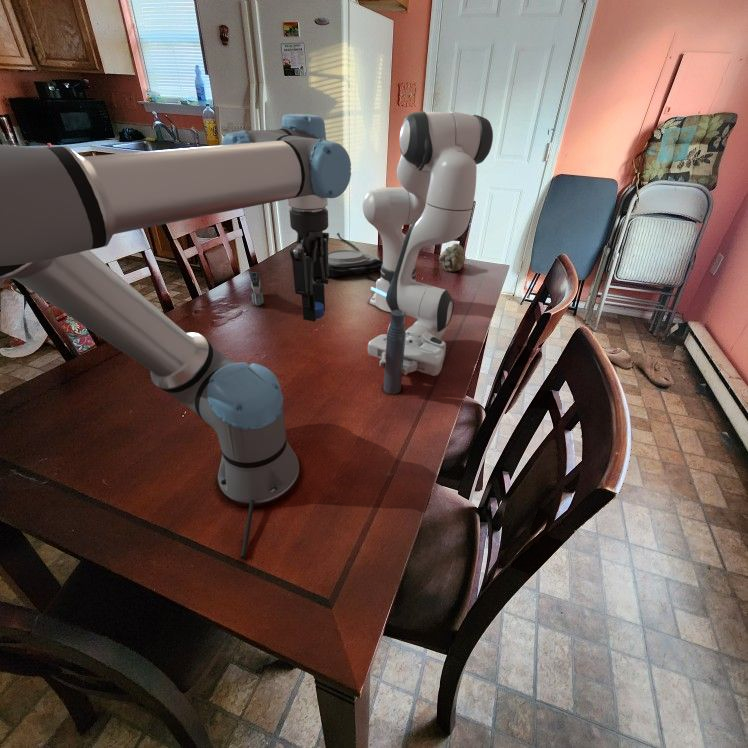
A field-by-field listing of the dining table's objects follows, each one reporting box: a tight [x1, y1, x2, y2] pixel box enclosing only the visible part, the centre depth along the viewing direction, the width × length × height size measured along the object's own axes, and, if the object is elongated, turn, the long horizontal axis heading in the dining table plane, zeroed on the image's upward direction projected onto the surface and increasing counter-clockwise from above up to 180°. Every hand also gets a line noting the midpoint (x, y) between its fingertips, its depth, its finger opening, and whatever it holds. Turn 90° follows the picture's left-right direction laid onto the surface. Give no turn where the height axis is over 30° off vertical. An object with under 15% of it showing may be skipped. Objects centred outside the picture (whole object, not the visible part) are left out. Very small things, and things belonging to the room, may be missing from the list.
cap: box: [315, 302, 325, 320], centre depth 93 cm, size 4×4×2 cm
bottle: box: [382, 310, 406, 395], centre depth 100 cm, size 4×4×22 cm
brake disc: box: [324, 249, 383, 278], centre depth 176 cm, size 32×30×5 cm
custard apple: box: [438, 243, 466, 273], centre depth 178 cm, size 11×11×15 cm
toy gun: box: [249, 271, 264, 307], centre depth 140 cm, size 4×19×10 cm
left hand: (314, 314), depth 94 cm, fingers closed on cap, 4 cm apart
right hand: (392, 368), depth 102 cm, fingers closed on bottle, 4 cm apart
